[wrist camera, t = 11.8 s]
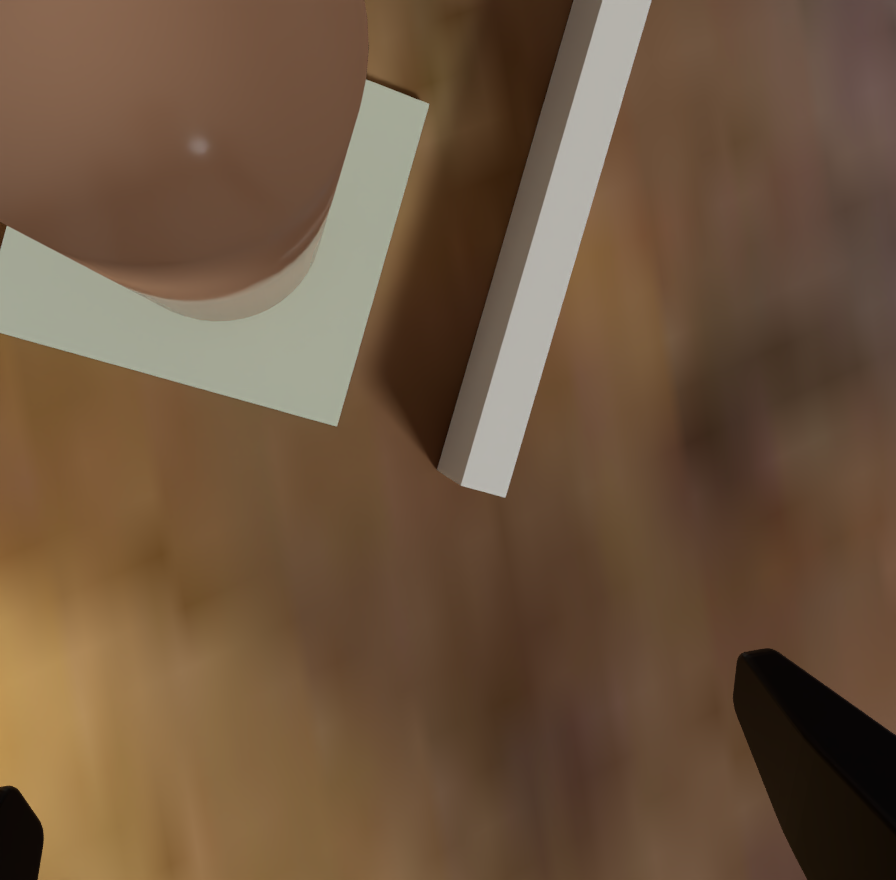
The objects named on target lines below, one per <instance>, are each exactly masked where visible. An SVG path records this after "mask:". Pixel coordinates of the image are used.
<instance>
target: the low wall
mask: <svg viewBox="0 0 896 880" xmlns="http://www.w3.org/2000/svg"><path fill="white" fill-rule="evenodd" d="M650 4H651V0H573V4H572V7H571V11H570V14H569V17H568V21H567V24H566V28H565V31H564V35H563V38H562V42H561V45H560V48H559V52H558V55H557V59H556V62H555V66H554V69H553V72H552V76H551V79H550V83H549V86H548V90H547V93H546V97H545V100H544V103H543V107H542V110H541V114H540V117H539V121H538V124H537V127H536V131H535V134H534V138H533V141H532V145H531V148H530V151H529V155H528V158H527V162H526V165H525V169H524V172H523V176H522V179H521V182H520V186H519V189H518V193H517V196H516V200H515V203H514V206H513V210H512V213H511V217H510V220H509V224H508V227H507V231H506V234H505V237H504V241H503V244H502V248H501V251H500V255H499V258H498V261H497V265H496V268H495V272H494V275H493V279H492V282H491V286H490V289H489V292H488V296H487V299H486V303H485V306H484V310H483V313H482V316H481V320H480V323H479V327H478V330H477V334H476V337H475V340H474V344H473V347H472V351H471V354H470V358H469V361H468V365H467V368H466V371H465V375H464V378H463V382H462V385H461V389H460V392H459V395H458V399H457V402H456V406H455V409H454V413H453V416H452V420H451V423H450V426H449V430H448V433H447V437H446V440H445V444H444V447H443V450H442V454H441V457H440V461H439V464H438V468H437V470H438V471H439V472H441V473H442V474H444V475H445V476H447V477H448V478H450V479H451V480H453V481H454V482H456V483H458V484H459V485H461V486H464V487H468V488H472V489H475V490H479V491H483V492H486V493H490V494H494V495H497V496H501V497H506V494H507V490H508V487H509V483H510V480H511V477H512V473H513V470H514V466H515V463H516V460H517V456H518V453H519V449H520V446H521V443H522V439H523V436H524V432H525V429H526V426H527V422H528V419H529V415H530V412H531V409H532V405H533V402H534V398H535V395H536V392H537V388H538V385H539V381H540V378H541V375H542V371H543V368H544V364H545V361H546V358H547V354H548V351H549V347H550V344H551V341H552V337H553V334H554V330H555V327H556V324H557V320H558V317H559V313H560V310H561V307H562V303H563V300H564V296H565V293H566V290H567V286H568V283H569V279H570V276H571V273H572V269H573V266H574V262H575V259H576V256H577V252H578V249H579V245H580V242H581V239H582V235H583V232H584V228H585V225H586V221H587V218H588V215H589V211H590V208H591V204H592V201H593V198H594V194H595V191H596V187H597V184H598V181H599V177H600V174H601V170H602V167H603V164H604V160H605V157H606V153H607V150H608V147H609V143H610V140H611V136H612V133H613V130H614V126H615V123H616V119H617V116H618V113H619V109H620V106H621V102H622V99H623V96H624V92H625V89H626V85H627V82H628V79H629V75H630V72H631V68H632V65H633V62H634V58H635V55H636V51H637V48H638V45H639V41H640V38H641V34H642V31H643V28H644V24H645V21H646V17H647V14H648V11H649V7H650Z"/></svg>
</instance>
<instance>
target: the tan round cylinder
mask: <svg viewBox="0 0 896 880" xmlns="http://www.w3.org/2000/svg"><path fill="white" fill-rule="evenodd" d="M368 50H369V45H368V24H367V13H366V8H365V2H364V0H0V222H2V223H3V224H5V225H7V226H9V227H11V228H12V229H14V230H16V231H18V232H20V233H22V234H24V235H26V236H28V237H30V238H32V239H33V240H35V241H37V242H39V243H41V244H43V245H45V246H47V247H49V248H51V249H53V250H54V251H56V252H58V253H60V254H62V255H64V256H66V257H68V258H70V259H72V260H74V261H75V262H77V263H79V264H81V265H83V266H85V267H87V268H89V269H91V270H93V271H95V272H96V273H98V274H100V275H102V276H104V277H106V278H108V279H110V280H112V281H114V282H116V283H118V284H119V285H121V286H123V287H125V288H127V289H129V290H131V291H133V292H135V293H137V294H139V295H140V296H142V297H144V298H146V299H148V300H150V301H152V302H154V303H156V304H158V305H160V306H162V307H164V308H165V309H167V310H169V311H171V312H174V313H177V314H180V315H182V316H185V317H189V318H194V319H198V320H206V321H232V320H238V319H244V318H247V317H250V316H254V315H257V314H259V313H261V312H264V311H266V310H268V309H270V308H272V307H273V306H275V305H276V304H278V303H280V302H281V301H282V300H284V299H285V298H286V297H287V296H288V295H290V294H291V293H292V292H293V291H294V290H295V289H296V288H297V286H298V285H299V284H300V283H301V282H302V280H303V279H304V277H305V276H306V275H307V273H308V272H309V270H310V268H311V266H312V264H313V262H314V260H315V257H316V254H317V251H318V248H319V245H320V242H321V238H322V235H323V232H324V228H325V225H326V221H327V218H328V215H329V211H330V208H331V205H332V201H333V198H334V194H335V191H336V188H337V184H338V181H339V177H340V174H341V171H342V167H343V164H344V160H345V157H346V154H347V150H348V147H349V143H350V140H351V137H352V133H353V130H354V127H355V123H356V120H357V116H358V113H359V110H360V106H361V101H362V96H363V91H364V87H365V82H366V76H367V63H368Z"/></svg>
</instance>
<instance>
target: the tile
mask: <svg viewBox="0 0 896 880" xmlns="http://www.w3.org/2000/svg"><path fill="white" fill-rule="evenodd" d="M428 107H429V104H428V103H425V102H423V101H420V100H418V99H415V98H413V97H410V96H408V95H405V94H402V93H400V92H397V91H395V90H392V89H390V88H387V87H384V86H382V85H379V84H377V83H374V82H372V81H369V80H366V82H365V87H364V91H363V96H362V101H361V106H360V110H359V113H358V116H357V120H356V123H355V127H354V130H353V133H352V137H351V140H350V143H349V147H348V150H347V154H346V157H345V160H344V164H343V167H342V171H341V174H340V177H339V181H338V184H337V188H336V191H335V194H334V198H333V201H332V205H331V208H330V211H329V215H328V218H327V221H326V225H325V228H324V232H323V235H322V238H321V242H320V245H319V248H318V251H317V254H316V257H315V260H314V262H313V264H312V266H311V268H310V270H309V272H308V273H307V275H306V276H305V277H304V279H303V280H302V282H301V283H300V284H299V285H298V286H297V288H296V289H295V290H294V291H293V292H292V293H291V294H290V295H288V296H287V297H286V298H285V299H284V300H282V301H281V302H280V303H278V304H276V305H275V306H273V307H272V308H270V309H268V310H266V311H264V312H261V313H259V314H257V315H254V316H250V317H247V318H244V319H238V320H232V321H206V320H198V319H194V318H189V317H185V316H182V315H180V314H177V313H174V312H171V311H169V310H167V309H165V308H164V307H162V306H160V305H158V304H156V303H154V302H152V301H150V300H148V299H146V298H144V297H142V296H140V295H139V294H137V293H135V292H133V291H131V290H129V289H127V288H125V287H123V286H121V285H119V284H118V283H116V282H114V281H112V280H110V279H108V278H106V277H104V276H102V275H100V274H98V273H96V272H95V271H93V270H91V269H89V268H87V267H85V266H83V265H81V264H79V263H77V262H75V261H74V260H72V259H70V258H68V257H66V256H64V255H62V254H60V253H58V252H56V251H54V250H53V249H51V248H49V247H47V246H45V245H43V244H41V243H39V242H37V241H35V240H33V239H32V238H30V237H28V236H26V235H24V234H22V233H20V232H18V231H16V230H14V229H12V228H11V227H9V226H7V227H6V231H5V234H4V238H3V242H2V245H1V249H0V333H3V334H6V335H10V336H13V337H17V338H21V339H24V340H28V341H31V342H35V343H39V344H42V345H46V346H49V347H53V348H57V349H60V350H64V351H67V352H71V353H75V354H78V355H82V356H85V357H89V358H92V359H96V360H100V361H103V362H107V363H110V364H114V365H118V366H121V367H125V368H128V369H132V370H136V371H139V372H143V373H146V374H150V375H154V376H157V377H161V378H164V379H168V380H171V381H175V382H179V383H182V384H186V385H189V386H193V387H197V388H200V389H204V390H207V391H211V392H215V393H218V394H222V395H225V396H229V397H233V398H236V399H240V400H243V401H247V402H250V403H254V404H258V405H261V406H265V407H268V408H272V409H276V410H279V411H283V412H286V413H290V414H294V415H297V416H301V417H304V418H308V419H312V420H315V421H319V422H322V423H326V424H329V425H333V426H337V424H338V421H339V417H340V414H341V410H342V407H343V403H344V400H345V396H346V393H347V390H348V386H349V383H350V379H351V376H352V372H353V369H354V365H355V362H356V358H357V355H358V351H359V348H360V344H361V341H362V337H363V334H364V330H365V327H366V323H367V320H368V316H369V313H370V309H371V306H372V302H373V299H374V295H375V292H376V288H377V285H378V281H379V278H380V274H381V271H382V267H383V264H384V260H385V257H386V254H387V250H388V247H389V243H390V240H391V236H392V233H393V229H394V226H395V222H396V219H397V215H398V212H399V208H400V205H401V201H402V198H403V194H404V191H405V187H406V184H407V180H408V177H409V173H410V170H411V166H412V163H413V159H414V156H415V152H416V149H417V145H418V142H419V138H420V135H421V131H422V128H423V124H424V121H425V118H426V114H427V111H428Z"/></svg>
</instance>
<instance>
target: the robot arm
mask: <svg viewBox="0 0 896 880" xmlns="http://www.w3.org/2000/svg"><path fill="white" fill-rule="evenodd" d="M733 702H734V708H735V711H736V714H737V717H738V720H739V722H740V725H741V727H742V730H743V732H744V735H745V738H746V740H747V743H748V745H749V748H750V750H751V753H752V755H753V758H754V760H755V763H756V765H757V768H758V770H759V773H760V775H761V778H762V781H763V783H764V786H765V788H766V791H767V793H768V796H769V798H770V801H771V803H772V806H773V808H774V811H775V813H776V816H777V818H778V821H779V823H780V825H781V828H782V830H783V833H784V835H785V837H786V839H787V841H788V843H789V845H790V847H791V849H792V851H793V853H794V855H795V857H796V859H797V861H798V863H799V865H800V867H801V868H802V870H803V872H804V874H805V876H806V878H807V880H896V735H895V734H893V733H892V732H890V731H889V730H888V729H886V728H885V727H883V726H882V725H880V724H879V723H878V722H876V721H875V720H873V719H872V718H871V717H869V716H868V715H866V714H865V713H864V712H862V711H861V710H859V709H858V708H857V707H855V706H854V705H852V704H851V703H849V702H848V701H847V700H845V699H844V698H842V697H841V696H840V695H838V694H837V693H835V692H834V691H833V690H831V689H830V688H828V687H827V686H825V685H824V684H823V683H821V682H820V681H818V680H817V679H816V678H814V677H813V676H811V675H810V674H809V673H807V672H806V671H804V670H803V669H802V668H800V667H799V666H797V665H796V664H794V663H793V662H792V661H790V660H789V659H787V658H786V657H785V656H783V655H782V654H780V653H779V652H777V651H775V650H773V649H769V648H765V649H759V650H754V651H748V652H744V653H741V654H740V656H739V657H738V660H737V666H736V674H735V683H734V692H733ZM43 841H44V834H43V828H42V825H41V822H40V821H39V819H38V817H37V816H36V815H35V813H34V812H33V810H32V809H31V807H30V806H29V804H28V803H27V801H26V800H25V799H24V797H23V796H22V794H21V793H20V791H19V790H18V789H17V788H15V787H13V786H3V787H0V880H38V874H39V868H40V861H41V855H42V849H43Z"/></svg>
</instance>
